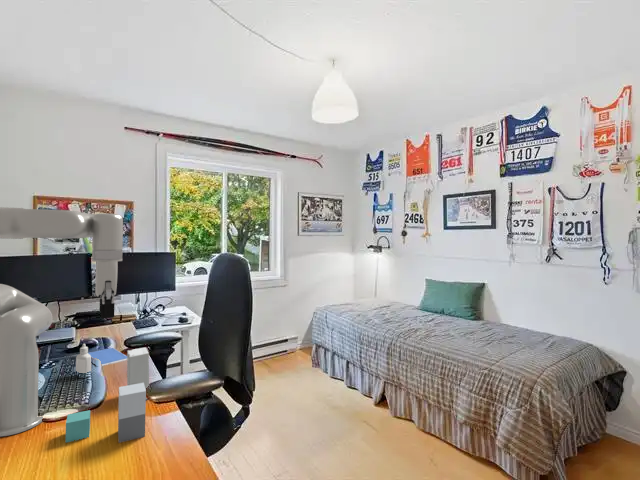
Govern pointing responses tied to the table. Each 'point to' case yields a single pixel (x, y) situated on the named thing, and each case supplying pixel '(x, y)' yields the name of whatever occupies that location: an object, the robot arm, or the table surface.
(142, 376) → the skincare box
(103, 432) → the table surface
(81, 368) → the eye dropper bottle
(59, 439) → the table surface
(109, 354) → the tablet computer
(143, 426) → the tower base
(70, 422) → the teal block
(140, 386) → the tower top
